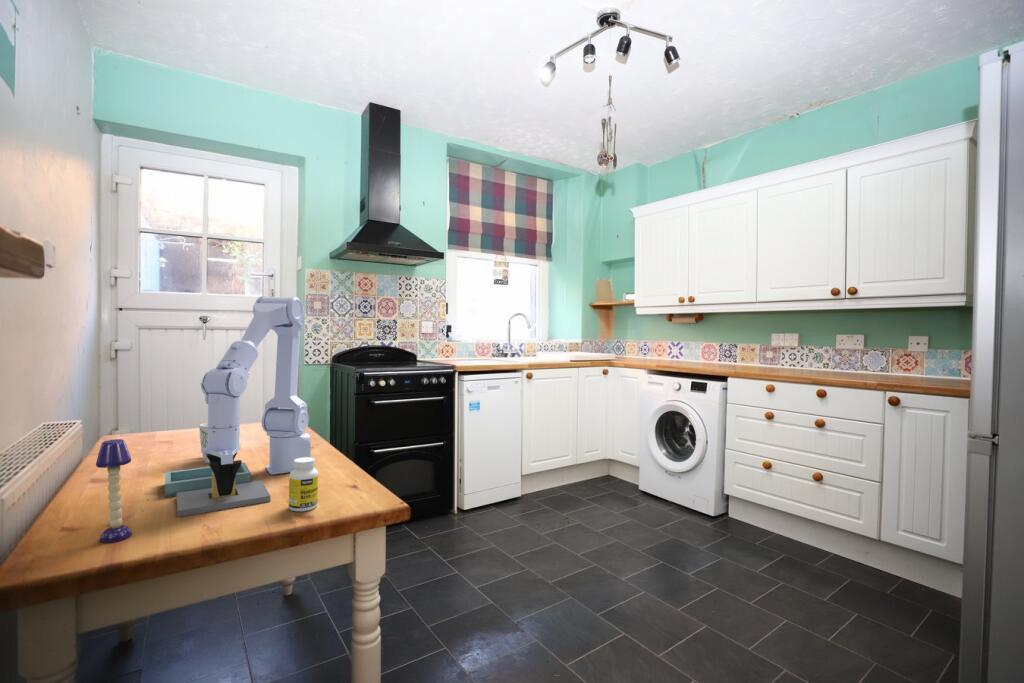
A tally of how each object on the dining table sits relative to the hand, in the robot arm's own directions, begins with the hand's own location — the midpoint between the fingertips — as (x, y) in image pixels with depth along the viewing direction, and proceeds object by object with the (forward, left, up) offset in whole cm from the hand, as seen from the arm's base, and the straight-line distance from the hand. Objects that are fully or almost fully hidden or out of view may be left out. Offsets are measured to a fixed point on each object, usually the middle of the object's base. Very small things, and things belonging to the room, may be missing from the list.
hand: (223, 490), depth 102 cm
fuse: (0, 0, -2) cm, 2 cm away
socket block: (0, 0, -2) cm, 2 cm away
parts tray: (+2, -13, -2) cm, 13 cm away
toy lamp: (+17, +11, -2) cm, 20 cm away
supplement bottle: (-13, +13, -2) cm, 19 cm away
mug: (-1, -36, -2) cm, 36 cm away
